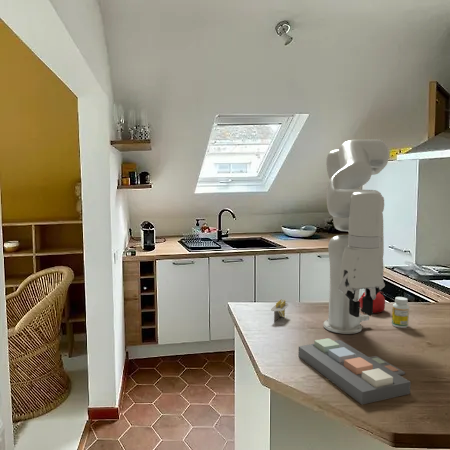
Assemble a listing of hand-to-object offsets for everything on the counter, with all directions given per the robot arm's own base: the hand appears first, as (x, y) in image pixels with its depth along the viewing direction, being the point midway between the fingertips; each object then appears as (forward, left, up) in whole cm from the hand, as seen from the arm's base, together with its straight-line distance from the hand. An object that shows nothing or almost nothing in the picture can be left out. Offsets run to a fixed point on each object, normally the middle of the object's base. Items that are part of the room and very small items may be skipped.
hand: (360, 313), depth 111 cm
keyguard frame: (0, -4, -17) cm, 18 cm away
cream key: (0, +7, -15) cm, 17 cm away
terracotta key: (0, 0, -15) cm, 15 cm away
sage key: (0, -14, -15) cm, 21 cm away
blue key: (0, -7, -15) cm, 17 cm away
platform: (-4, -48, -18) cm, 52 cm away
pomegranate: (-41, -45, -18) cm, 63 cm away
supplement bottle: (-39, -28, -17) cm, 51 cm away
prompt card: (-11, -4, -17) cm, 21 cm away
